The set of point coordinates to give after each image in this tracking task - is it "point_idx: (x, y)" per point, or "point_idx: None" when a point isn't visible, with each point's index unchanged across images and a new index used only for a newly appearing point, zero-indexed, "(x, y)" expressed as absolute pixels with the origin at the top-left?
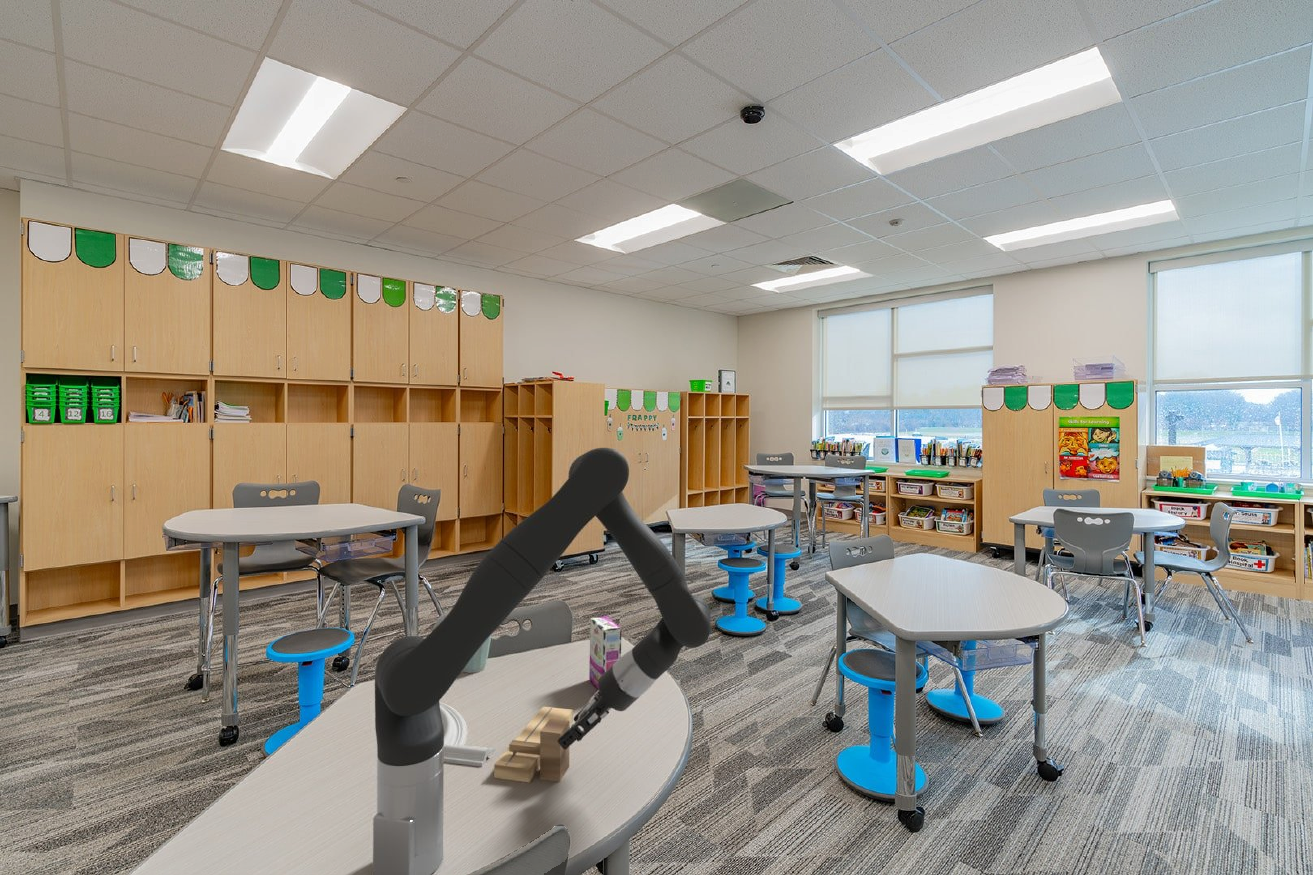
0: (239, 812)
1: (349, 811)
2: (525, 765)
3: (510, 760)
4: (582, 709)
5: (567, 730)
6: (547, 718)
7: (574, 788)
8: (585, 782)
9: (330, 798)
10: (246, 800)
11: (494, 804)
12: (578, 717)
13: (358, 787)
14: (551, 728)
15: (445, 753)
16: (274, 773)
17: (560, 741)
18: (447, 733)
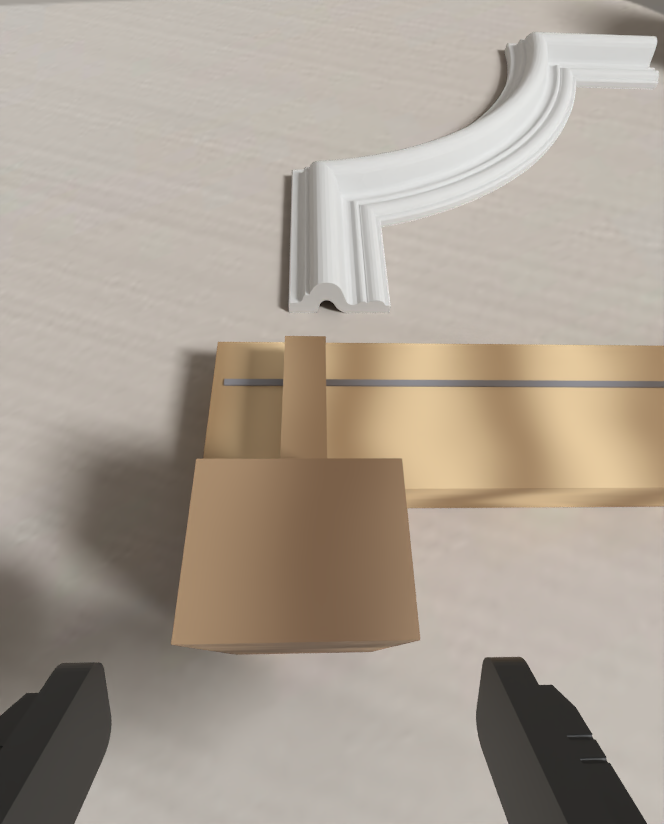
0: (56, 18)
1: (47, 138)
2: None
3: (258, 386)
4: (559, 787)
5: (14, 788)
6: (646, 401)
7: (184, 767)
8: (247, 819)
9: (101, 95)
10: (95, 11)
11: (57, 440)
12: (500, 717)
13: (146, 115)
14: (252, 527)
15: (303, 195)
16: (187, 4)
17: (9, 710)
18: (388, 154)
